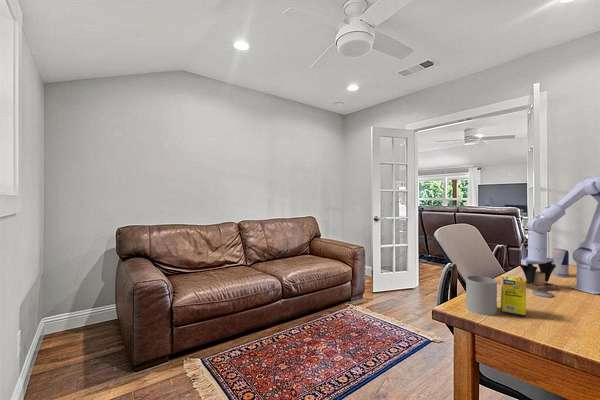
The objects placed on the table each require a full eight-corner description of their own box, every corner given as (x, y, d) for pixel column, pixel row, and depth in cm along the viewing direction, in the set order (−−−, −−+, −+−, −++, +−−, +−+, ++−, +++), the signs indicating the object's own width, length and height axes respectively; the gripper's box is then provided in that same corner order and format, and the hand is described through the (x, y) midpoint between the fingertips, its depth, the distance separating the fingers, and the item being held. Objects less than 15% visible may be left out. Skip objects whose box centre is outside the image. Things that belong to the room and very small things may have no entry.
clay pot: (536, 285, 117) (536, 270, 117) (548, 288, 112) (548, 273, 112) (527, 286, 116) (527, 271, 116) (539, 289, 111) (539, 274, 111)
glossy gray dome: (540, 291, 109) (540, 290, 109) (557, 296, 103) (557, 295, 103) (528, 292, 108) (528, 291, 108) (545, 298, 102) (545, 296, 102)
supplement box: (526, 318, 86) (526, 281, 85) (501, 313, 89) (502, 278, 89) (523, 311, 91) (523, 277, 90) (500, 307, 94) (500, 274, 94)
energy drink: (572, 277, 127) (572, 250, 127) (559, 277, 127) (560, 250, 127) (561, 274, 133) (561, 248, 132) (549, 274, 133) (549, 248, 132)
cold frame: (536, 283, 119) (536, 279, 119) (558, 289, 111) (558, 285, 111) (517, 285, 117) (518, 281, 117) (538, 291, 109) (538, 287, 109)
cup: (501, 316, 87) (502, 284, 87) (472, 314, 88) (472, 282, 88) (489, 306, 95) (489, 276, 95) (462, 304, 97) (462, 275, 97)
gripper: (541, 245, 119) (540, 277, 119) (513, 247, 116) (513, 280, 116) (560, 248, 112) (559, 282, 113) (531, 250, 109) (531, 285, 109)
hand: (537, 281), depth 114 cm, fingers open, 7 cm apart
